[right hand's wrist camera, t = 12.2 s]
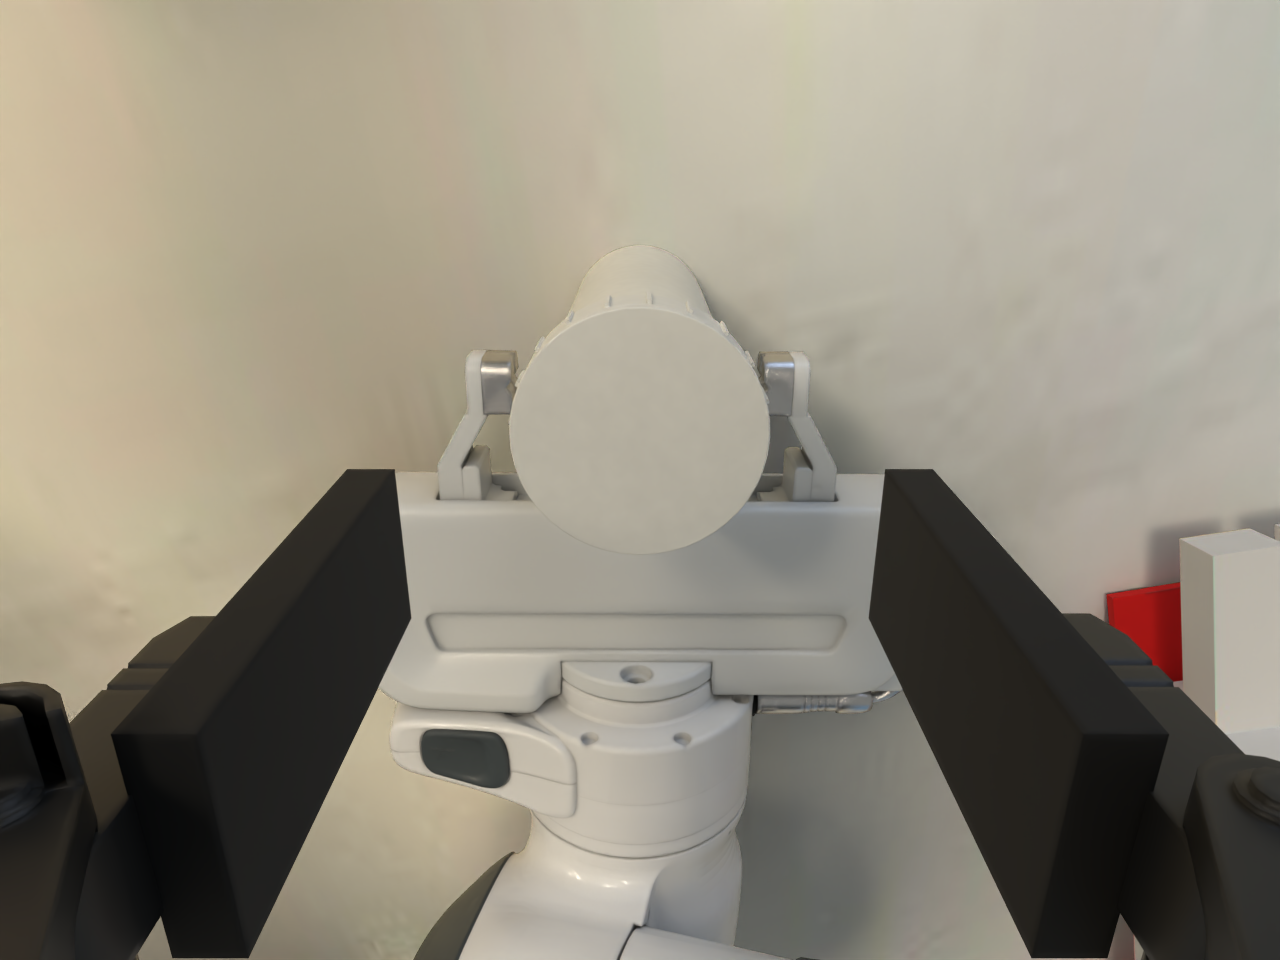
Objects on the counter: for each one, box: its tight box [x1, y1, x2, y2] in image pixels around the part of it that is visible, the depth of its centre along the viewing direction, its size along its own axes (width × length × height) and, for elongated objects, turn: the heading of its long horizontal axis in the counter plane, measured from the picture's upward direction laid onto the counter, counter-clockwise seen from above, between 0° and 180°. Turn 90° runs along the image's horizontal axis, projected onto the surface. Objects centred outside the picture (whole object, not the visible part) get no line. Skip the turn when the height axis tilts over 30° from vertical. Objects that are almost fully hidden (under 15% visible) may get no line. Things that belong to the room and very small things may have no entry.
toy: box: [1107, 524, 1280, 960], centre depth 37 cm, size 12×13×30 cm
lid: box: [508, 291, 770, 555], centre depth 20 cm, size 6×6×2 cm
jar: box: [570, 245, 712, 317], centre depth 27 cm, size 5×5×15 cm
